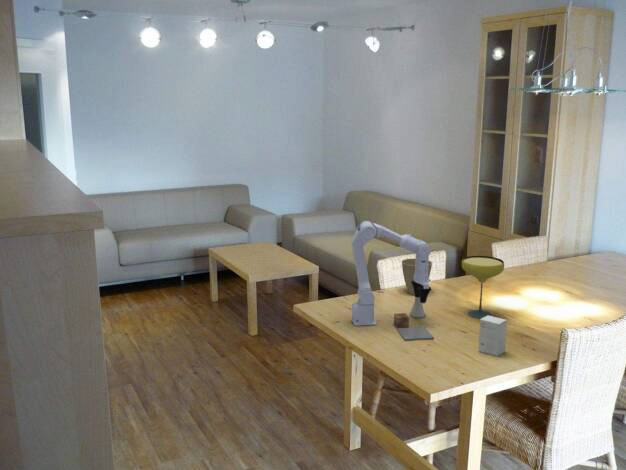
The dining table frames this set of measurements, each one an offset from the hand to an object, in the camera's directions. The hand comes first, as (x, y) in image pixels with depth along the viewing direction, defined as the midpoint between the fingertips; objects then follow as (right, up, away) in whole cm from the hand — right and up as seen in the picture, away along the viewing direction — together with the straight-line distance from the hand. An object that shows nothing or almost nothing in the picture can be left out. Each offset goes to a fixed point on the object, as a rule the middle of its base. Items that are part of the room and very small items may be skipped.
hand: (420, 299), depth 270 cm
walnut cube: (-9, -11, -4) cm, 15 cm away
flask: (0, -8, +9) cm, 12 cm away
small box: (+22, -17, -30) cm, 41 cm away
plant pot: (+5, -1, +41) cm, 42 cm away
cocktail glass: (+29, -8, +10) cm, 31 cm away
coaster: (-4, -13, -13) cm, 19 cm away
